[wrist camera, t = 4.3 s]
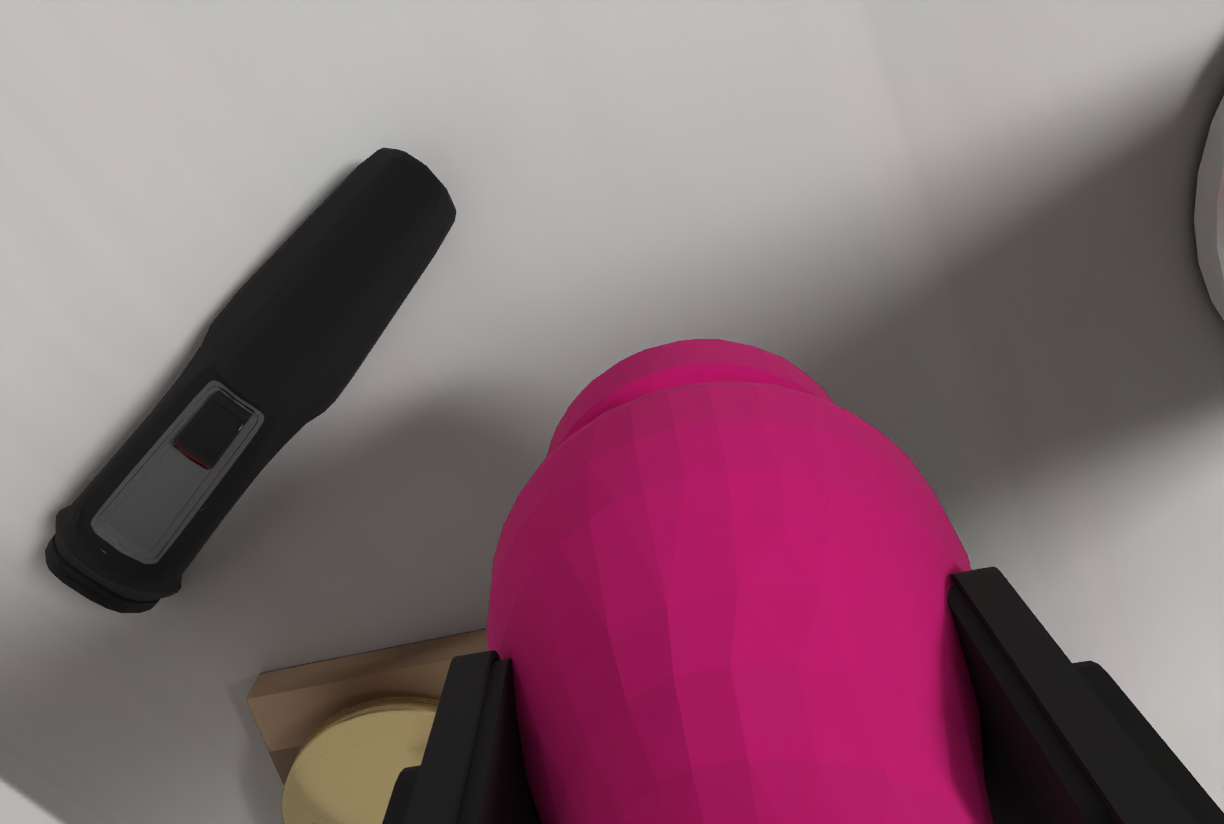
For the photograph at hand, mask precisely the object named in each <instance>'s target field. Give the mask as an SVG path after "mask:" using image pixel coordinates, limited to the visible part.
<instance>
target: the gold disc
mask: <svg viewBox="0 0 1224 824" xmlns="http://www.w3.org/2000/svg"><path fill="white" fill-rule="evenodd" d="M439 701H440V700H436V699H430V698H424V697H411V696H403V697H387V698H380V699H374V700H370V701H366V702H362V703H359V704H357V705H354V706H351V707H349V708H346V709H344V710H342V711H340V712H339V713H337V714H335V715H333V716H332V717H330V718H329V719H327V720H326V721H324V722H323V723H322V724H320V725H319V726H318V727H317V728H316V729H315V730H314V731H313V732H312V733H311V734H310V735H309V737H308V738H307V739H306V741H305V742H304V743H303V745H302V747H301V748H300V750H299V752H298V754H297V756H296V758H295V760H294V763H293V765H292V767H291V770H290V772H289V774H288V777H287V780H286V783H285V786H284V790H283V796H282V815H283V820H284V824H382V822H383V819H384V816H385V813H386V810H387V807H388V803H389V800H390V797H391V794H392V791H393V788H394V785H395V782H396V780H397V778H398V775H399V773H400V772H401V771H402V770H403V769H404V768H406V767H413V766H419V765H421V762H422V759H423V755H424V752H425V748H426V745H427V742H428V738H429V735H430V731H431V728H432V724H433V721H434V718H435V714H436V711H437V707H438V704H439Z"/></svg>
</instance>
